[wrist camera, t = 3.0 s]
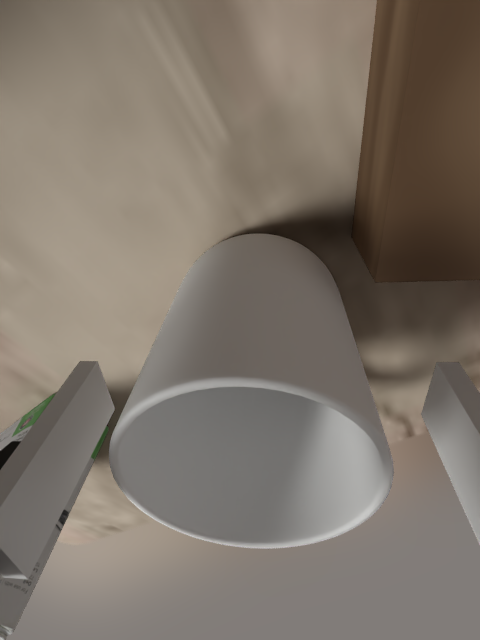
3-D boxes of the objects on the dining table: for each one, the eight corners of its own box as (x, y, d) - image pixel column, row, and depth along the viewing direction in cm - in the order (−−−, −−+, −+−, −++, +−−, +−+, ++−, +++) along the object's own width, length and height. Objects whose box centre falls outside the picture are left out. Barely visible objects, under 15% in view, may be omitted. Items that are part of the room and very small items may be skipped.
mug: (388, 369, 21) (469, 569, 12) (268, 415, 24) (265, 601, 15) (288, 193, 16) (306, 323, 7) (150, 280, 19) (47, 445, 10)
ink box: (56, 388, 24) (-93, 600, 14) (113, 428, 26) (17, 639, 16) (-5, 435, 27) (-159, 630, 18) (49, 467, 29) (-63, 659, 20)
